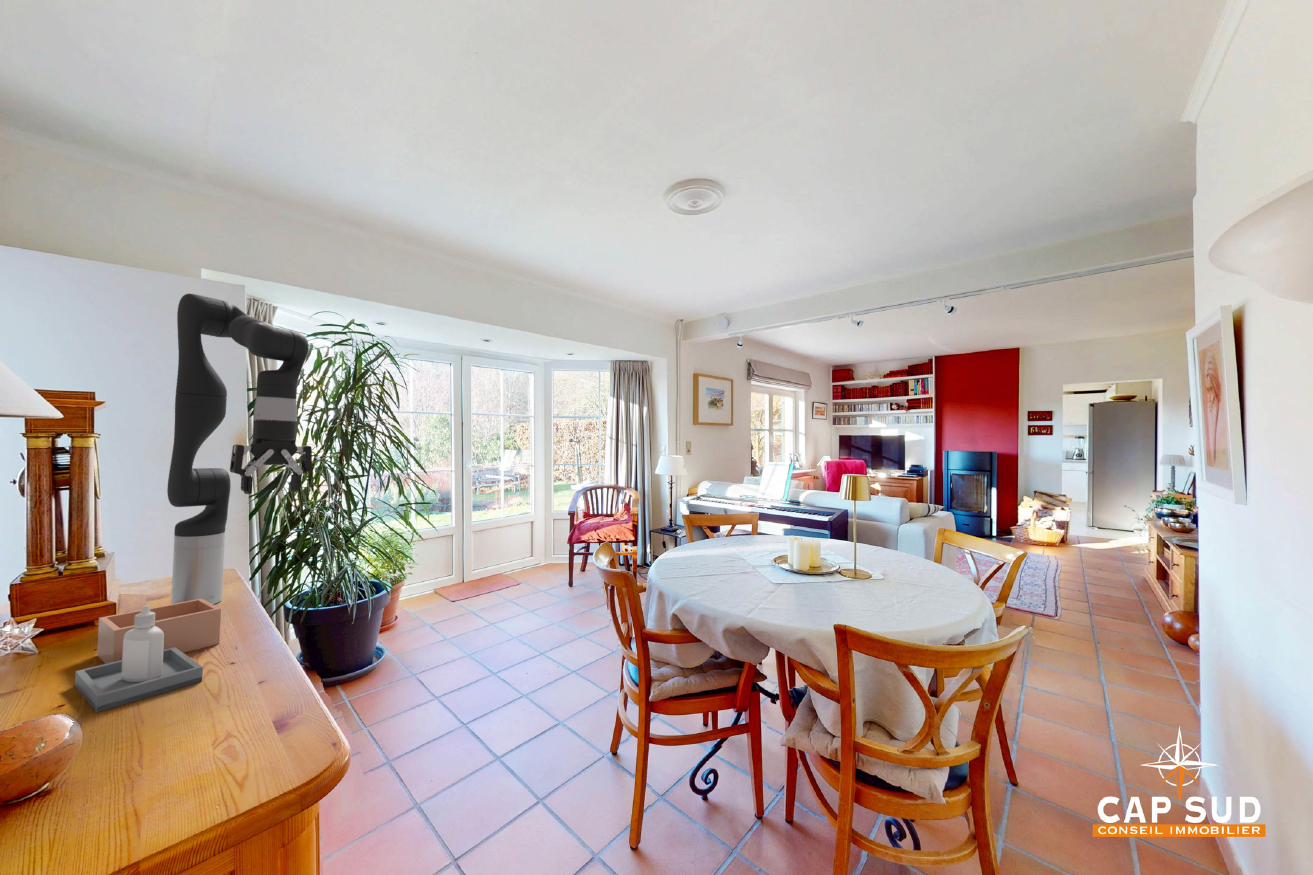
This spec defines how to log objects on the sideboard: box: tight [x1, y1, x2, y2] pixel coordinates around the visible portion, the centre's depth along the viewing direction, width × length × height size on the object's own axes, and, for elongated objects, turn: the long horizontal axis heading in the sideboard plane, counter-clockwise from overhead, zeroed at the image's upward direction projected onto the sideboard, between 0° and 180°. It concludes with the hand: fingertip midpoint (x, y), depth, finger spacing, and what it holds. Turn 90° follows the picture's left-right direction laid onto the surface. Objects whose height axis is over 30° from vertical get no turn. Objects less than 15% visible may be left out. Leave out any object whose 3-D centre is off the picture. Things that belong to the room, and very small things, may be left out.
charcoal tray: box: [74, 647, 204, 714], centre depth 82 cm, size 14×12×2 cm
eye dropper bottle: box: [121, 605, 164, 682], centre depth 82 cm, size 4×6×12 cm
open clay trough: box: [96, 599, 222, 664], centre depth 95 cm, size 11×15×7 cm
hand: (271, 492), depth 108 cm, fingers open, 8 cm apart
